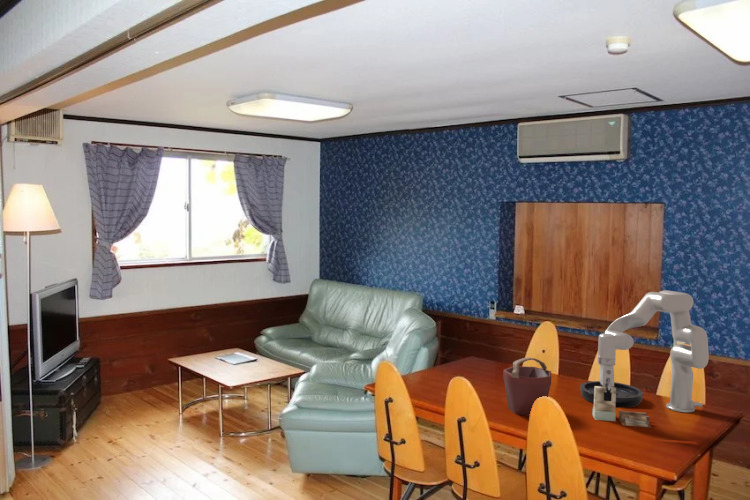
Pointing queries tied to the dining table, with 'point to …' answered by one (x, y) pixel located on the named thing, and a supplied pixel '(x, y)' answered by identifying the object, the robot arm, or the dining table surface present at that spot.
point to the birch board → (599, 400)
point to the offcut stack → (636, 421)
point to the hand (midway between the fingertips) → (605, 397)
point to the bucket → (525, 385)
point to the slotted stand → (604, 415)
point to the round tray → (624, 393)
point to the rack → (626, 415)
